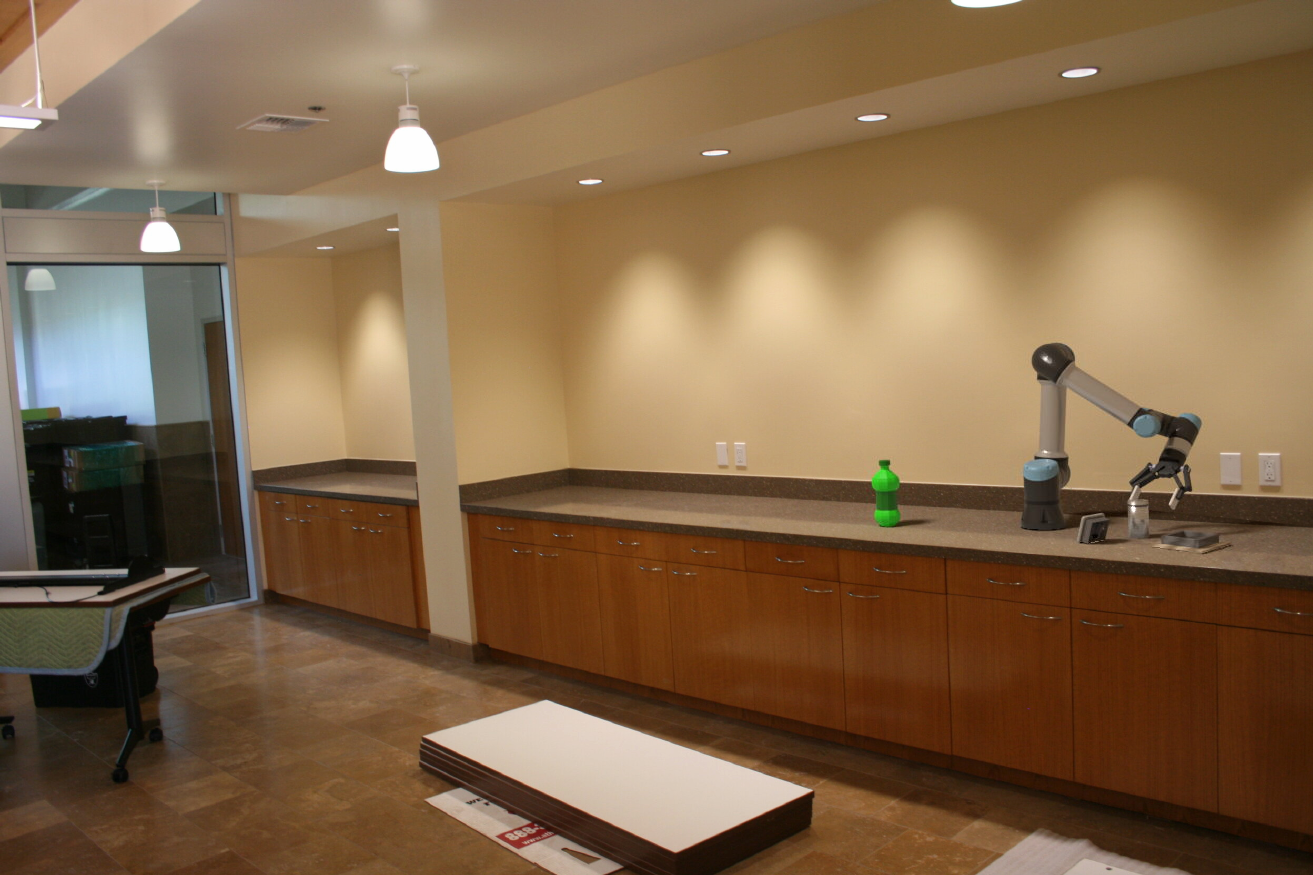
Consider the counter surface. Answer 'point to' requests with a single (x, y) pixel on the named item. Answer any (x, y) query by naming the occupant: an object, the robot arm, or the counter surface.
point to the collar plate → (1190, 541)
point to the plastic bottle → (886, 495)
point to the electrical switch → (1093, 528)
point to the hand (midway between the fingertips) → (1150, 505)
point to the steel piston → (1138, 518)
